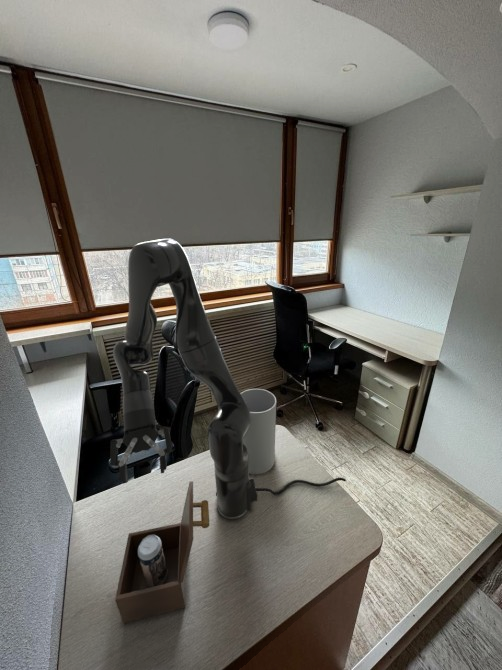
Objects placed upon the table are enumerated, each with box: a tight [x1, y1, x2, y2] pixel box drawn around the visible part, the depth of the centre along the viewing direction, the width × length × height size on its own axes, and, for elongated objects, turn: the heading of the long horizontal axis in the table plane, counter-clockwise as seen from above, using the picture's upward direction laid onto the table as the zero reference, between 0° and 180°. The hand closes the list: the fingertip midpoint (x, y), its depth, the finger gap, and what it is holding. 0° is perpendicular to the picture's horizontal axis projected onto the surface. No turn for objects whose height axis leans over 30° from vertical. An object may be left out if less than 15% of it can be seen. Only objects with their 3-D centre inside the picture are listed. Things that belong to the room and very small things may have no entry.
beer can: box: [138, 535, 168, 588], centre depth 59 cm, size 5×5×12 cm
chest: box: [114, 522, 187, 624], centre depth 60 cm, size 12×12×9 cm
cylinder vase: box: [240, 388, 277, 475], centre depth 88 cm, size 12×12×25 cm
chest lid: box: [179, 481, 210, 583], centre depth 58 cm, size 13×12×4 cm
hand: (144, 477), depth 65 cm, fingers open, 8 cm apart
